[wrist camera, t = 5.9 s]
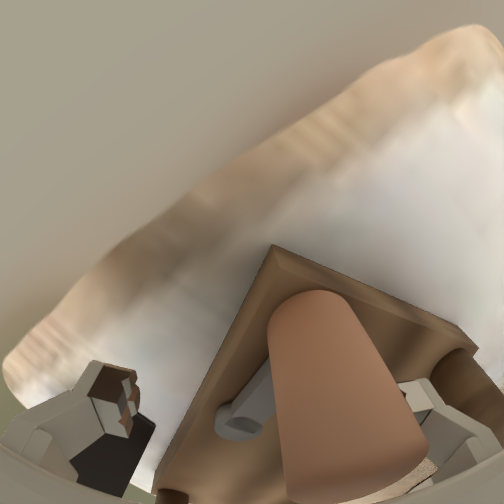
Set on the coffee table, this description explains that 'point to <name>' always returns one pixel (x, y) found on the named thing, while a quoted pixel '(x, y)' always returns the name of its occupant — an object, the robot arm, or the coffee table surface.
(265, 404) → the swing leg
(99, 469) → the phone stand
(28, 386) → the coffee table surface
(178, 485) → the stool base
